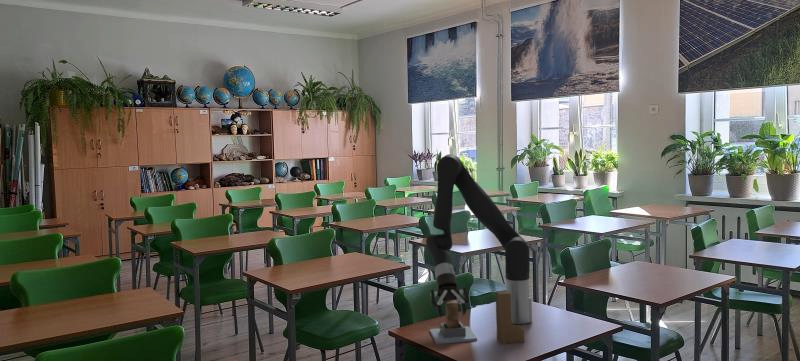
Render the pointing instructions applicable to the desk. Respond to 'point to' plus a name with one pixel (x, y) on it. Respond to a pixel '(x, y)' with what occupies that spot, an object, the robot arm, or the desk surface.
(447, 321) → the walnut peg
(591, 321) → the desk surface
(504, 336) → the wooden block
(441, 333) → the socket board
